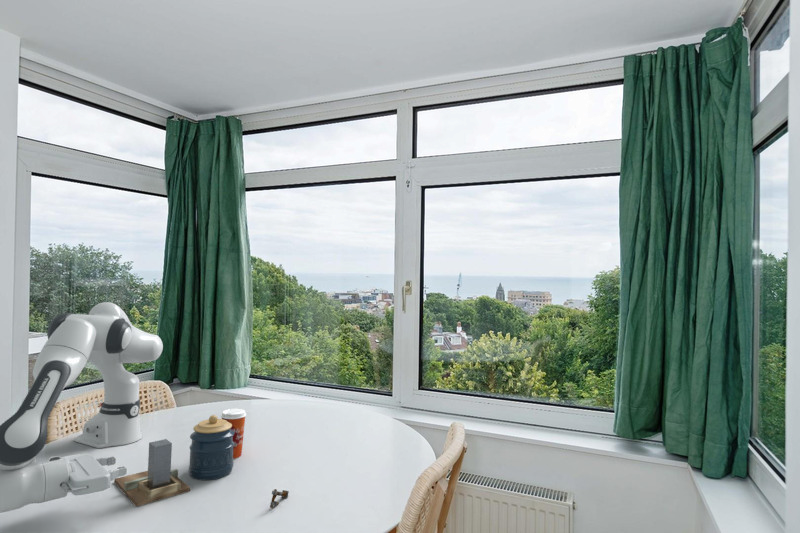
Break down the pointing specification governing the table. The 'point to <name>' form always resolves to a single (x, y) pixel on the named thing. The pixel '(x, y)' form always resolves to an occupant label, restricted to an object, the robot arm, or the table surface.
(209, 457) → the canister
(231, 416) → the coffee cup
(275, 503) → the wooden post with brackets
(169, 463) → the bar
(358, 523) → the table surface
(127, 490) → the door board
